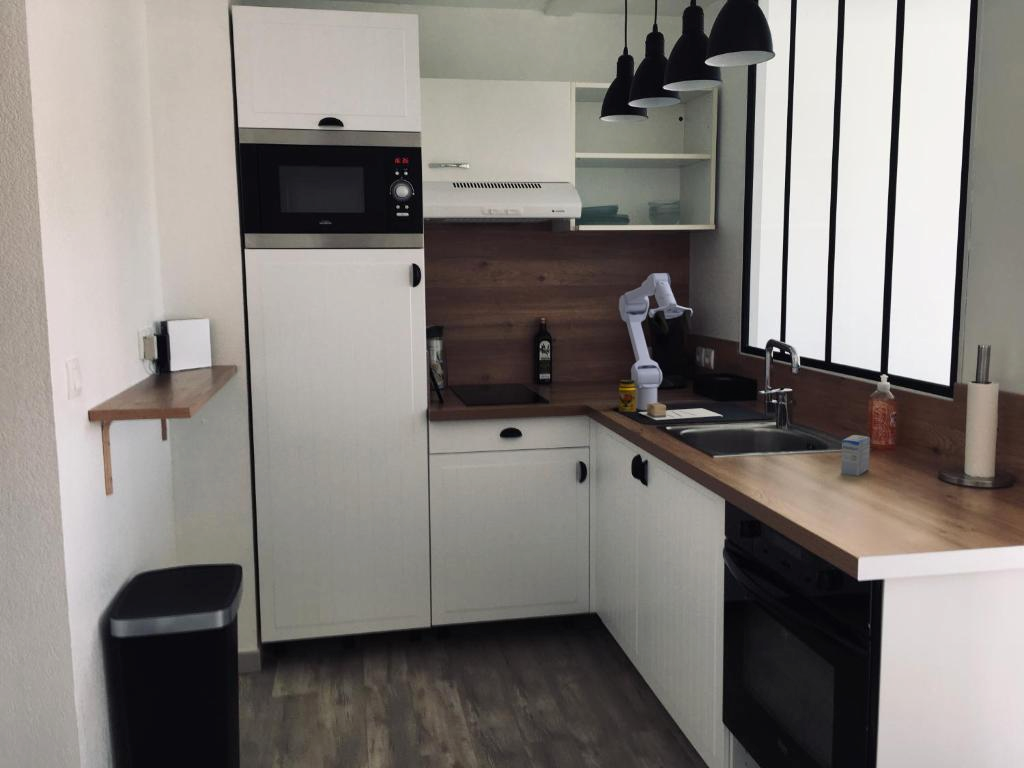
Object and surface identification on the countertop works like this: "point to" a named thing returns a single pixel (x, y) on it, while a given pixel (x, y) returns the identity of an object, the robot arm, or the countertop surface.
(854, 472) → the medicine box
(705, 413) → the board
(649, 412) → the cork block
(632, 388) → the condiment
